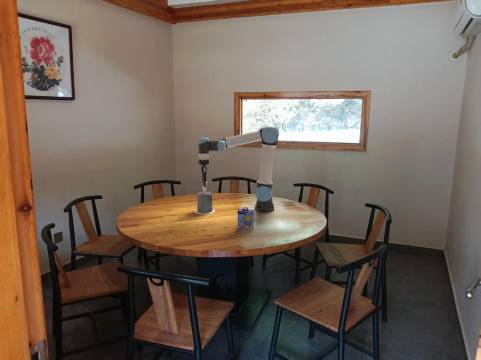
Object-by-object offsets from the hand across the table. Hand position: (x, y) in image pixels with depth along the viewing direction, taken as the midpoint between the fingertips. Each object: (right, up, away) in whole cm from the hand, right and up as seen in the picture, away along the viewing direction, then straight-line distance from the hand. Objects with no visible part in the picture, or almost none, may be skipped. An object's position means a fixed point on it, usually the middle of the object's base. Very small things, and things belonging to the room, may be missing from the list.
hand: (204, 190), depth 273 cm
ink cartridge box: (+30, -24, -35) cm, 52 cm away
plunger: (0, -12, +2) cm, 12 cm away
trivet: (0, -17, +3) cm, 17 cm away
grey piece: (0, -15, +4) cm, 16 cm away
